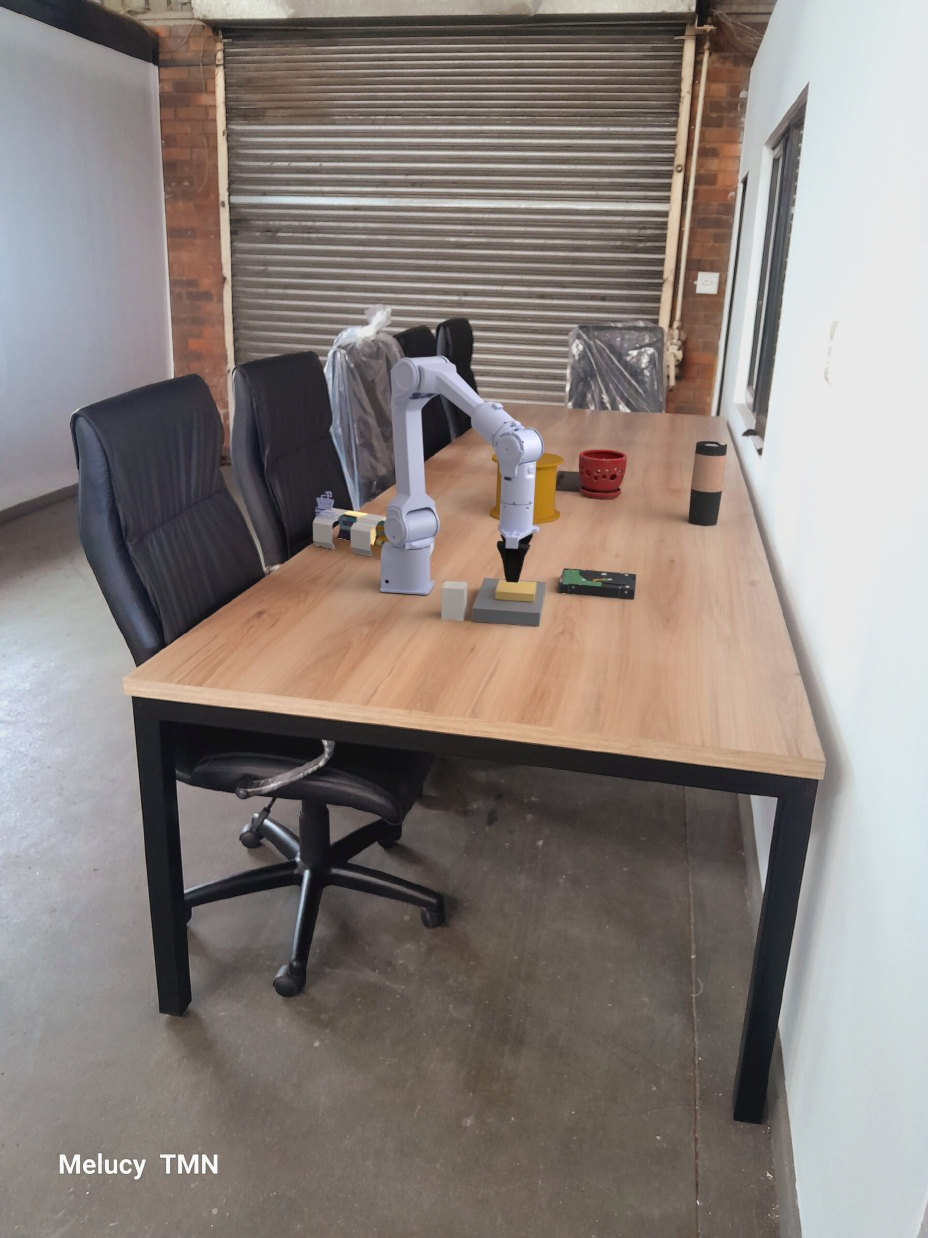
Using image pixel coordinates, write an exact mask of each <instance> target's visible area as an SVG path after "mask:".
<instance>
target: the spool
mask: <svg viewBox="0 0 928 1238" xmlns="http://www.w3.org/2000/svg"><path fill="white" fill-rule="evenodd" d="M491 461H493V462H494V463H496V464H497V466H496V468H497V469H496V470H497V471H496V490H495V491H496V495H495V496H496V497H495V506H493V507H491V508H490V510H489V515H490V516H491V517H493V518H495V519H496V520H499V521H500V498H501V472H499V462H498V460H497V457H496V455H495V453H494V454H492V455H491ZM563 463H564V457H563V456H561V455H558V454H553V453H549V452H543V455H542V457H541V458H540V459H539V460H538V461H536V472H535V490H534V508H533V524H542V523H543V524H544V523H545V524H546V523H550V522H554V521H557V520H559V519H560V518H561V512H560V511H559V510H558V509H556V508H555V505H556V488H557V471H558V466H560V465H563Z"/></svg>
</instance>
